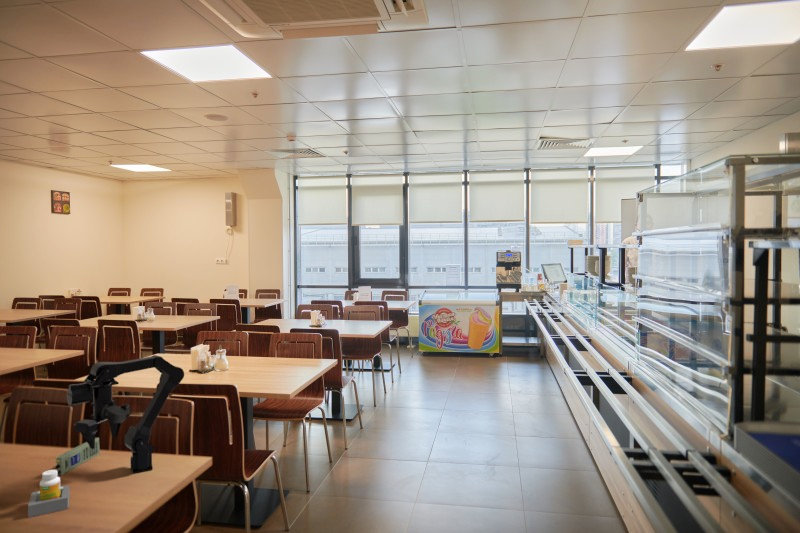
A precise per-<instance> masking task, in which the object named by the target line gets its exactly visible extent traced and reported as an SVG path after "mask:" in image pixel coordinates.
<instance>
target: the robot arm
mask: <svg viewBox="0 0 800 533" xmlns="http://www.w3.org/2000/svg"><path fill="white" fill-rule="evenodd" d="M152 368H155V370H156V371H158V372H159V373H161V374H160V376H159V382H158V387H157V389H156V391H155V393H154V395H153V396H152V398H151V400H150V402H149V403H148V405H147V407H146V410H144V412H143V415H142V416H141V418H140V420H139V422H138V423H137V424H136V425H134V426H132V425H130V426H129V428H128V430H127V432H126V433H125V434H124V440H123V443H124V446H125V447H127V448H128V449H129V450H130V451H131V456H130V470H131V472H132V474H137V473H141V472H142V473H143V472H146V471H151V470H154V469H153V458H152V457H153V456H152V454H153V453H154V452H155V446H154V445H152V444H151V443H150V438H151V434H152V428H153V425H154V424H155V421H156V420H157V418H158V416H159V414H160V412H161V411H162V409H163V407H164V405H165V403H166V401H167V400H168V398H169V396H170V393H171V392H172V391H173V390H174V389H175V388H176V387H178V386H179V385H180V383H181V382H182V381H183V379H184V377H185V372H184V370H183V368H181V367H179V366H176V365H174V364H172V363H170V362H168V361H167V360H166V359H164V358H163V357H162V356H160V355H157V354H154V355H152V356H147V357H142V358H135V359H130V360H124V361H117V362H116V361H98V362H95V363H94V364H93V365H92V366H91V368H90V371H89V374H88V375H87V377H86V378H85V379H84V380H83V382H82V383H73V384H69V385H68V389H67V391H66V393H65V394H66V402H67V404H68V406H69V407H71V406H77V405H81V404H86V403H89V402H90V401H92V402H91V403H90V407H93V414H90V418H91V419H83V420H82V419H81V420H79V421H76V422H75V423H74V425H73V431H74V432H77V433H79V434H81V435H82V437H83V438H84V439H85V441H86V442H87V443H88V444H89V446H90V448H91V449H94V447H95V438H96V433H97V432H98V431H99V429H98V425H99V424H101V423H105V422H106V421H108V424H109V430H110V434H111V438H112V439H113V440H116V439H117V437H118V434H119V430H120V428H121V425H122V423H123V422H125V420H127V419H128V418H129V417H130V416H131V406H130V404H128V403H126V404H123V405H120V406H118V405H117V403H116V402H117V401H116V400H113V386H115V385H119V382H118V381H117V380H116V379H115V378H117V377H119V376H122V375H124V374H127V373H132V372H138V371H143V370H148V369H152Z"/></svg>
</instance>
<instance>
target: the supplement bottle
mask: <svg viewBox="0 0 800 533" xmlns="http://www.w3.org/2000/svg"><path fill="white" fill-rule="evenodd" d="M41 478H42V479H41V480H40V482H39V491H40V501H44V500H49V499H54V498H59V497H61V488H60V487H61V477H60V476H59V475H58V472H57V469H49V470H45V471H44V472H42V474H41Z"/></svg>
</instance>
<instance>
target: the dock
mask: <svg viewBox="0 0 800 533" xmlns="http://www.w3.org/2000/svg"><path fill="white" fill-rule="evenodd" d="M60 488H61V497H59V498H54V499H49V500H44V501H40V490H39V491H33V492H31V495H30V498H29V501H28V505H27V513H28V514H27V516H28V518H33V517H37V516H42V515H46V514H51V513H56V512H61V511H66V510H68V509H69V503H70V495H71V493H70V485H69V484H68V485H63V486H60Z"/></svg>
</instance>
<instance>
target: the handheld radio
mask: <svg viewBox="0 0 800 533" xmlns="http://www.w3.org/2000/svg"><path fill="white" fill-rule="evenodd" d="M100 452H101V448H100V437H95V447H94V449H91V448H90V446H89V444H88V443H87V441H86V442H85V441H84V443H81V444H79V445H78V446H76V447H73V448H71V449H69V450H68V451H65V452H64V453H62V454H59V455H58V456H56V457H55V458H54V459H55V463H56V465H55V470H57V472H58V475H57V476H59V475H61V476H63V475H64V474H67V472H68V473H69V471H71V470H74V469H76V468H77V467H78V466H80V465H83V464H84V463H86V462H88V461H90V460H91V459H93V458H95V457H97V456H98V455H100V454H101V453H100Z"/></svg>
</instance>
